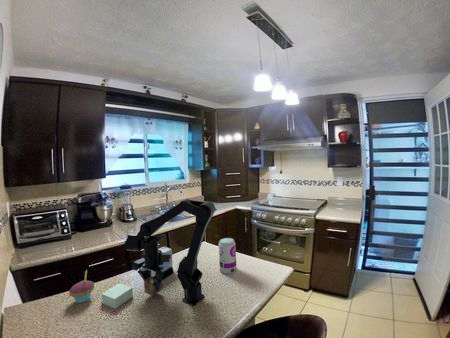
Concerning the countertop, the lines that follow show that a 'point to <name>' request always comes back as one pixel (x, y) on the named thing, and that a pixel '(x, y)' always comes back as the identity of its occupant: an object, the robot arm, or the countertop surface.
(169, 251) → the light bulb box
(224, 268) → the supplement can
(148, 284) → the walnut cube
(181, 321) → the countertop surface
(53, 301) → the countertop surface
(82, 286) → the cupcake
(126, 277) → the countertop surface
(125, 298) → the sage block
